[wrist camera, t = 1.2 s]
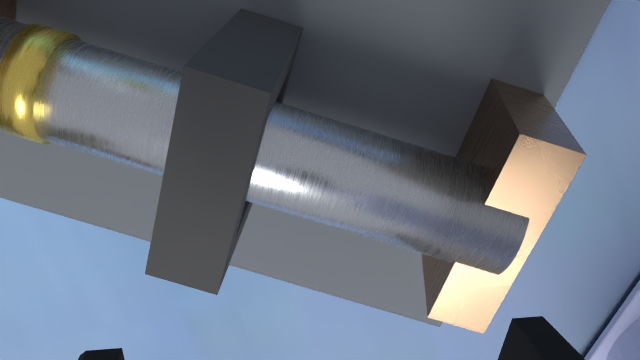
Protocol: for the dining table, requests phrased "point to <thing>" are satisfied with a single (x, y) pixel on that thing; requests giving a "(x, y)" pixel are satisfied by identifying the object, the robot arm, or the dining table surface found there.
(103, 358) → the robot arm
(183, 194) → the dark grey upright slab
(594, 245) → the dining table surface
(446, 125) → the mat
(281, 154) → the rod holder
